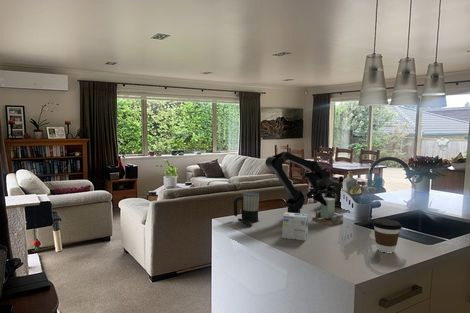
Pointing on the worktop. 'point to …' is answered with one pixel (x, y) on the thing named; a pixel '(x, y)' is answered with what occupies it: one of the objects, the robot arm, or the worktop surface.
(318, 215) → the brown shallow tray
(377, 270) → the worktop surface
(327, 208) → the block
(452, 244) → the worktop surface
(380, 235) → the coffee cup
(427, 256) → the worktop surface
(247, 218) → the milk frother
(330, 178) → the robot arm
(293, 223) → the light bulb box
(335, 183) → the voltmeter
